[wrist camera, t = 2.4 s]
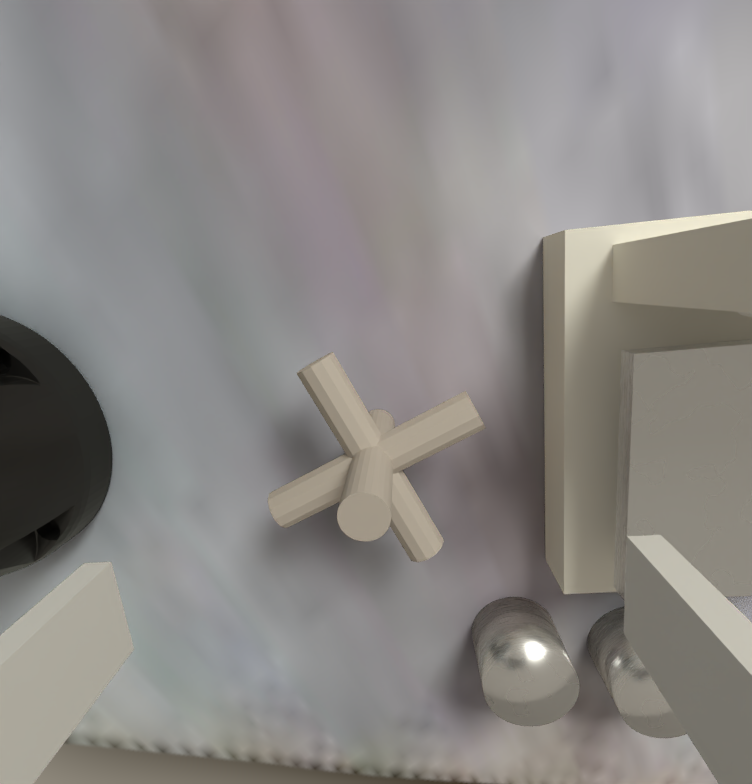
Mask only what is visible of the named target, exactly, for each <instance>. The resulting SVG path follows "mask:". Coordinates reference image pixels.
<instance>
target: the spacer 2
mask: <svg viewBox="0 0 752 784" xmlns="http://www.w3.org/2000/svg"><path fill="white" fill-rule="evenodd" d="M624 608H625V607H621V608H618V609H615V610H612V611H610V612H608V613H606V614H605V615H603V616H602V617H601V618H600V619H599V620H598V621H597V622H596V623H595V624H594V625H593V627H592V628H591V630H590V633H589V636H588V642H587V643H588V650H589V653H590V656H591V658H592V660H593V662H594V664H595V665H596V667H597V669H598V671H599V673H600V675H601V677H602V679H603V681H604V683H605V685H606V687H607V689H608V691H609V693H610V695H611V697H612V699H613V701H614V702H615V704H616V706H617V708H618V710H619V712H620V714H621V716H622V718H623V719H624V721H625V722H626V723H627V724H628V725H629V726H630V727H631V728H632V729H634V730H635V731H637V732H639V733H641V734H643V735H646V736H650V737H656V738H673V737H678V736H682V735H685V734H687V733H686V731H685V730H684V728H683V726H682V725H681V723H680V722H679V720H678V719H677V717H676V715H675V714H674V712H673V711H672V709H671V708H670V706H669V704H668V703H667V701H666V700H665V698H664V697H663V695H662V693H661V692H660V690H659V689H658V687H657V685H656V684H655V682H654V681H653V679H652V678H651V676H650V674H649V673H648V671H647V670H646V668H645V667H644V665H643V663H642V662H641V660H640V659H639V657H638V656H637V654H636V652H635V651H634V649H633V648H632V646H631V644H630V643H629V641H628V640H627V638H626V637H625V635H624Z"/></svg>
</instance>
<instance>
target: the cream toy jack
mask: <svg viewBox="0 0 752 784" xmlns="http://www.w3.org/2000/svg"><path fill="white" fill-rule="evenodd" d="M297 375H298V376H299V378H300V380H301V381H302V383H303V385H304V386H305V388H306V389H307V391H308V393H309V394H310V396H311V398H312V399H313V401H314V403H315V404H316V406H317V407H318V409H319V411H320V412H321V414H322V416H323V417H324V419H325V420H326V422H327V424H328V425H329V427H330V429H331V430H332V432H333V434H334V435H335V437H336V438H337V440H338V442H339V443H340V445H341V447H342V448H343V450H344V452H345V453H346V454H344V455H342V456H340V457H338V458H336V459H334V460H332V461H330V462H328V463H326V464H324V465H323V466H321V467H319V468H317V469H315V470H313V471H311V472H309V473H307V474H305V475H303V476H301V477H300V478H298V479H296V480H294V481H292V482H290V483H288V484H286V485H284V486H282V487H280V488H278V489H277V490H275V491H273V492H271V493H269V497H268V504H269V510H270V512H271V514H272V516H273V518H274V520H275V521H276V522H277V523H278V524H279V525H280V526H281V527H284V528H288V527H290V526H292V525H294V524H296V523H298V522H300V521H302V520H304V519H306V518H308V517H310V516H312V515H314V514H316V513H318V512H320V511H322V510H324V509H326V508H328V507H330V506H332V505H334V504H336V503H338V502H340V504H339V507H338V512H337V520H338V524H339V526H340V528H341V530H342V531H343V532H344V533H345V534H346V535H347V536H349V537H350V538H352V539H355V540H357V541H372V540H375V539H378V538H379V537H381V536H382V535H384V533H385V532H386V531H387V530H388V528H389V526H390V527H391V528H392V530H393V531H394V533H395V535H396V536H397V538H398V540H399V541H400V543H401V545H402V546H403V548H404V549H405V551H406V553H407V554H408V556H409V558H410V559H411V561H415V562H421V561H425V560H428V559H429V558H431V557H432V556H434V555H435V554H437V552H438V551H439V550H440V549H441V547H442V545H443V538H442V536H441V535H440V533H439V531H438V530H437V528H436V526H435V524H434V523H433V521H432V519H431V518H430V516H429V514H428V513H427V511H426V509H425V508H424V506H423V504H422V502H421V501H420V499H419V497H418V496H417V494H416V492H415V491H414V489H413V487H412V485H411V484H410V482H409V480H408V479H407V477H406V475H405V474H404V472H403V469H405V468H407V467H409V466H411V465H413V464H415V463H417V462H419V461H421V460H423V459H425V458H427V457H429V456H431V455H433V454H435V453H437V452H439V451H441V450H443V449H445V448H447V447H449V446H451V445H453V444H455V443H457V442H459V441H461V440H463V439H465V438H467V437H469V436H471V435H473V434H475V433H477V432H479V431H481V430H483V429H485V426H484V424H483V422H482V420H481V418H480V416H479V414H478V412H477V411H476V409H475V407H474V405H473V403H472V402H471V400H470V398H469V396H468V394H467V393H466V391H465V392H463V393H461V394H459V395H457V396H455V397H453V398H451V399H449V400H447V401H445V402H443V403H441V404H440V405H438V406H436V407H434V408H432V409H430V410H428V411H426V412H424V413H422V414H420V415H418V416H417V417H415V418H413V419H411V420H409V421H407V422H405V423H403V424H401V425H399V426H397V427H395V423H394V419H393V417H392V416H391V415H390V414H389V413H388V412H387V411H384V410H380V409H376V410H372V411H370V412H369V413H368V411H367V409H366V407H365V406H364V404H363V402H362V401H361V399H360V397H359V396H358V394H357V392H356V391H355V389H354V387H353V385H352V384H351V382H350V380H349V379H348V377H347V375H346V374H345V372H344V370H343V368H342V367H341V365H340V363H339V362H338V360H337V358H336V357H335V355H334V353H333V352H331V353H329V354H327V355H325V356H324V357H322V358H320V359H318V360H316V361H315V362H313V363H311V364H310V365H308V366H306V367H305V368H303V369H302V370H300V371H299V372H297Z"/></svg>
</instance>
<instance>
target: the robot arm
mask: <svg viewBox="0 0 752 784" xmlns="http://www.w3.org/2000/svg"><path fill="white" fill-rule="evenodd" d="M111 468H112V450H111V442H110V436H109V431H108V427H107V424H106V420H105V418H104V415H103V412H102V410H101V407H100V405H99V403H98V401H97V399H96V397H95V395H94V393H93V391H92V390H91V388H90V387H89V385H88V383H87V382H86V380H85V379H84V378H83V376H82V375H81V373H80V372H79V371H78V370H77V369H76V367H75V366H74V365H73V364H72V363H71V362H70V361H69V359H68V358H67V357H66V356H65V355H64V354H62V353H61V352H60V351H59V350H58V349H57V348H56V347H55V346H54V345H52V344H51V343H50V342H48V341H47V340H46V339H45V338H43V337H42V336H40V335H39V334H37V333H36V332H34V331H33V330H31V329H29V328H27V327H25V326H24V325H22V324H20V323H18V322H15V321H13V320H11V319H8V318H6V317H3V316H0V576H3V575H6V574H8V573H11V572H14V571H17V570H19V569H22V568H25V567H27V566H29V565H32V564H34V563H36V562H37V561H39V560H41V559H43V558H45V557H46V556H48V555H50V554H51V553H53V552H54V551H55V550H57V549H58V548H59V547H60V546H62V545H63V544H64V543H66V542H67V541H68V540H70V539H71V538H72V537H74V536H75V535H76V534H77V533H79V532H80V531H81V530H82V529H83V528H84V527H85V526H86V525H87V524H88V523H89V522H90V521H91V520H92V519H93V517H94V516H95V514H96V513H97V511H98V510H99V508H100V506H101V504H102V502H103V500H104V498H105V495H106V493H107V490H108V486H109V482H110V477H111ZM624 635H625V637H626V638H627V640H628V641H629V643H630V644H631V646H632V648H633V649H634V651H635V652H636V654H637V656H638V657H639V659H640V660H641V662H642V663H643V665H644V667H645V668H646V670H647V671H648V673H649V674H650V676H651V678H652V679H653V681H654V682H655V684H656V685H657V687H658V689H659V690H660V692H661V693H662V695H663V697H664V698H665V700H666V701H667V703H668V704H669V706H670V708H671V709H672V711H673V712H674V714H675V715H676V717H677V719H678V720H679V722H680V723H681V725H682V726H683V728H684V730H685V731H686V733H687V734H688V736H689V738H690V739H691V741H692V742H693V744H694V745H695V747H696V749H697V750H698V752H699V753H700V755H701V756H702V758H703V760H704V761H705V763H706V764H707V766H708V767H709V769H710V771H711V772H712V774H713V775H714V777H715V779H716V780H717V782H718V783H719V784H752V622H751V621H750V620H749V619H747V618H746V617H745V616H744V615H743V614H742V613H741V612H740V611H739V610H738V609H737V608H736V607H735V606H734V605H733V604H732V603H731V602H730V601H729V600H728V599H727V598H726V597H725V596H724V595H723V594H722V593H720V592H719V591H718V590H717V589H716V588H715V587H714V586H713V585H712V584H711V583H710V582H709V581H708V580H707V579H706V578H705V577H704V576H703V575H702V574H701V573H700V572H699V571H698V570H697V569H696V568H695V567H694V566H692V565H691V564H690V563H689V562H688V561H687V560H686V559H685V558H684V557H683V556H682V555H681V554H680V553H679V552H678V551H677V550H676V549H675V548H674V547H673V546H672V545H671V544H670V543H669V542H668V541H667V540H665V539H664V538H663V537H662V536H661V535H645V536H627V554H626V581H625V608H624ZM133 650H134V647H133V643H132V639H131V636H130V632H129V628H128V624H127V620H126V616H125V613H124V609H123V605H122V601H121V597H120V593H119V590H118V586H117V582H116V578H115V574H114V570H113V567H112V563H111V562H99V563H84V564H83V565H81V566H80V567H79V568H78V569H77V570H76V571H75V572H73V573H72V574H71V575H70V576H69V577H68V578H66V579H65V580H64V581H63V582H62V583H61V584H59V585H58V586H57V587H56V588H55V589H54V590H52V591H51V592H50V593H49V594H48V595H47V596H45V597H44V598H43V599H42V600H41V601H40V602H39V603H37V604H36V605H35V606H34V607H33V608H32V609H30V610H29V611H28V612H27V613H26V614H25V615H23V616H22V617H21V618H20V619H19V620H18V621H16V622H15V623H14V624H13V625H12V626H11V627H9V628H8V629H7V630H6V631H5V632H4V633H2V634H1V635H0V784H34V782H35V781H36V780H37V778H38V777H39V776H40V774H41V773H42V772H43V770H44V769H45V768H46V766H47V765H48V764H49V762H50V761H51V760H52V758H53V757H54V756H55V754H56V753H57V751H58V750H59V749H60V748H61V746H62V745H63V744H64V742H65V741H66V740H67V738H68V737H69V736H70V734H71V733H72V732H73V730H74V729H75V728H76V726H77V725H78V724H79V722H80V721H81V720H82V718H83V717H84V716H85V714H86V713H87V712H88V710H89V709H90V707H91V706H92V705H93V703H94V702H95V701H96V699H97V698H98V697H99V695H100V694H101V693H102V691H103V690H104V689H105V687H106V686H107V685H108V683H109V682H110V681H111V679H112V678H113V677H114V675H115V674H116V673H117V671H118V670H119V669H120V667H121V666H122V665H123V663H124V662H125V661H126V659H127V658H128V657H129V655H130V654H131V653H132V651H133Z"/></svg>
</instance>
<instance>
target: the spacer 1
mask: <svg viewBox="0 0 752 784" xmlns="http://www.w3.org/2000/svg"><path fill="white" fill-rule="evenodd" d="M472 639H473V644H474V648H475V653H476V658H477V663H478V668H479V673H480V678H481V683H482V688H483V693H484V697H485V700H486V702H487V704H488V706H489V707H490V709H491V710H492V711H493V712H494V713H495V714H496V715H497V716H499V717H500V718H502V719H503V720H505V721H507V722H510V723H513V724H516V725H521V726H540V725H545V724H548V723H551V722H554V721H556V720H558V719H560V718H561V717H563V716H564V715H565V714H567V713H568V712H569V711H570V710H571V708H572V707H573V706H574V704H575V703H576V700H577V698H578V695H579V689H580V686H579V679H578V676H577V674H576V671H575V669H574V667H573V665H572V663H571V660H570V658H569V656H568V654H567V652H566V649H565V647H564V645H563V643H562V641H561V638H560V636H559V634H558V632H557V630H556V627H555V625H554V623H553V621H552V619H551V617H550V615H549V613H548V612H547V611H546V610H545V609H544V608H543V607H542V606H541V605H539V604H538V603H536V602H534V601H532V600H529V599H526V598H521V597H507V598H502V599H498V600H496V601H493V602H491V603H490V604H488V605H486V606H485V607H484V608H483V609H482V610H481V611H480V612H479V613H478V615H477V616H476V618H475V620H474V622H473V626H472Z"/></svg>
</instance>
